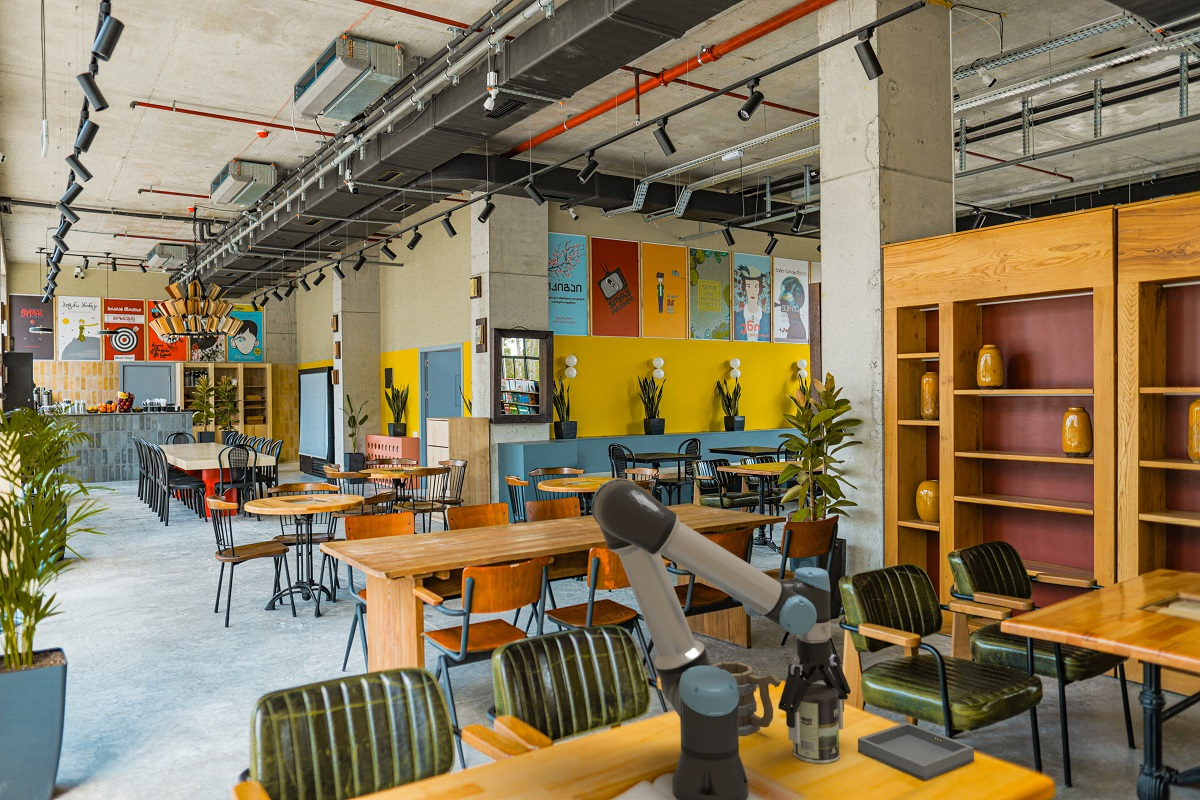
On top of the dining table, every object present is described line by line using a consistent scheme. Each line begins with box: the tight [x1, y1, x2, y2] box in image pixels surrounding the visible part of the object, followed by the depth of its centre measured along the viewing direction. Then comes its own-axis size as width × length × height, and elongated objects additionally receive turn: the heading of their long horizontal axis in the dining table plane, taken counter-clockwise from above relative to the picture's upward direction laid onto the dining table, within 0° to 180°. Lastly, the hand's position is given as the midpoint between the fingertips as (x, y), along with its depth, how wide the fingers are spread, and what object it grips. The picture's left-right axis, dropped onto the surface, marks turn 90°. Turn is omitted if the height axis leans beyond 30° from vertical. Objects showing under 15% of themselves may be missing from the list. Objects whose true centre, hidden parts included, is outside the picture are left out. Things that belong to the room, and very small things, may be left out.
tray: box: [857, 721, 975, 782], centre depth 176 cm, size 17×17×3 cm
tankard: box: [712, 661, 782, 736], centre depth 192 cm, size 20×13×15 cm, turn 42°
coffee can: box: [791, 682, 841, 764], centre depth 178 cm, size 10×10×14 cm
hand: (816, 734), depth 178 cm, fingers open, 13 cm apart
